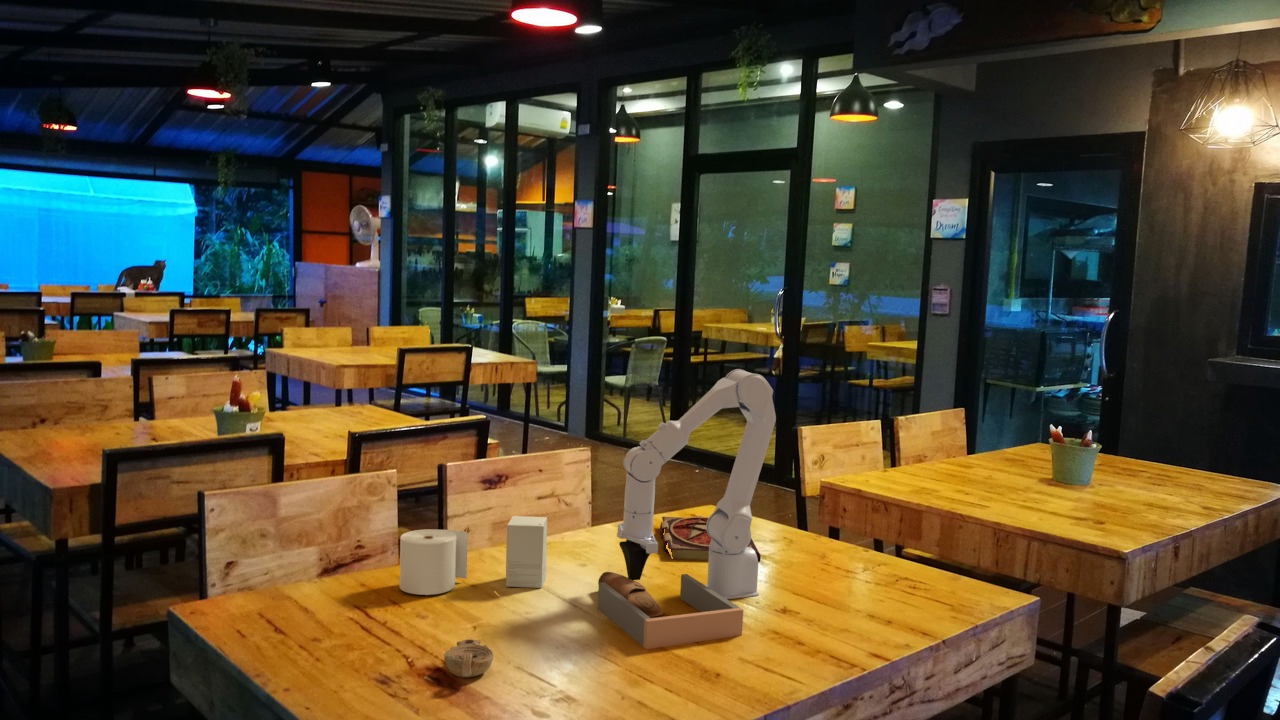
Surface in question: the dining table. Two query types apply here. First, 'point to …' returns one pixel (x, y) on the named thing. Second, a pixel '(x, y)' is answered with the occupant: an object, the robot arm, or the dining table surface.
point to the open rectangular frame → (672, 630)
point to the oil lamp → (468, 658)
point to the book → (689, 538)
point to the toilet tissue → (432, 560)
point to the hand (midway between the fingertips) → (634, 579)
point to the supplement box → (526, 552)
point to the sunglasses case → (632, 593)
